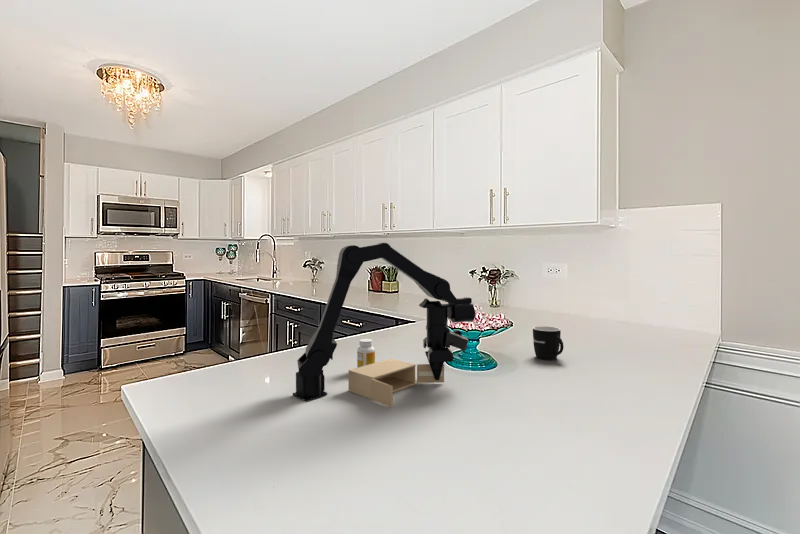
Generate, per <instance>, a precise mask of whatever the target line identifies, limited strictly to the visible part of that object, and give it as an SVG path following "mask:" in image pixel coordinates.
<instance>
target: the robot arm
mask: <svg viewBox="0 0 800 534" xmlns="http://www.w3.org/2000/svg"><path fill="white" fill-rule="evenodd" d="M337 258H338V259H337V263H336V264H337V265H336V273H335V274H336V275H335V279H334V282H333V285H332V288H331V291H330V294H329V296H328V300H327V301H326V305H325V308H324V311H323V314H322V316H321V319H320V323H319V325H318V327H317V329H316V331H315V332H314V333H313V335H312V336H311V338H310V340H309V342H308V344H307V345H306V347H305V351H304V353H303V354H302V355H301V356H300V357H299V358H298V359H297V360H296V361H297V362H296V363H297V368H298V371H296V372H295V392H292V396H293V397H296V398H298V399H300V400H302V401H306V402H309V401H312V400H315V399H318V398H322V397H324V396H327V395H328V392H327V391H325V387H326V386H325V383H326V381H325V374H324V369H323V368H324V367H325V366H327V365H328V364H329V361H330V360H333V359H334V358H333V356H334V352H335V350H336V348H337V347H338V343H337V341H336V340H335V338H333V337H334V332H335V330H336V326H337V324H338V320H339V317H340V314H341V313H342V312H341V311H342V309H343V305H344V304H345V300H346V298H347V294H348V292H349V289H350V287H351V283H352V282H353V280H354V278H355V277H356V276H357V274H358V273H359V270H360V269H361V268H362V266H363V263H364V262H365V263H366V262H370V261H371V262H372V261H374V260H379V259H381V260H383V261H384V262H386V263H387V264H389V265H390V266H392V267H393V268H395V269H396V270H397V271H399V272H401V273H402V274H403V275H405V277H407V278H409V279H410V280H412V281H413V282H414V283H415V284H416V285H417V287H418V288H419V289H420V290H421V291H422V292H423V293H425V295H426V296H428V297H429V298H432V299H435V300H429V299H428V298H426V297H425V298H424V299H423V301H421V302H420V303H419V304H418V307H420V308H423V309H426V325H425V330H426V336H425V337H424V338H423V340H422V347H423V348H424V349H426V348H427V350H426V351H424V354H425V355H426V359H427V361H428V362H427V363H428V364H430V367H431V370H432V372H433V375H434V378H435V380H439V379H440V375H441V371H442V367H443V364H445V363H452V362H454V353H453V351H451V349H450V348H451V347H453V348H457V349H459V350H461V351H463V352H465V351H466V349H467V346H468V343H469V341H470V340H469V339H468V337H466V336H464V335H463V333H462V331H461V330H458V329H455V330H454V331H451V330H450V329H449V327H448V320H450V321H451V322H452V323H471V322H473V321H475V318H476V310H475V306H474V303H473V302H472V301H473V300H472V299H473V298H471V297H467V296H466V297H462V298H460V297H459V298H457V297H456V296H455V295H454V293H453V291H452V290H451V285H450V282H449V281H448V280H446V279H445V278H442V277H440V276H438V275H436V274H433V273H431V272H428V271H426V270H424V269H423V268H421V267H420V266H419V265H418V264H416V263H415V262H413V261H412V260H410V259H409V258H407V257H406V256H404V255H403V254H402V253H400V252H399V251H398V250H396V249H395V248H394V247H392V246H391V244H389V243H387V242H380V243H376V244H371V245H366V246H361V247H360V246H358V245H354V244H353V245H351V244H350V245H346V246H343V247H342V248H341V249H340V251H339V253H338V257H337ZM441 301H442V302H445V303H441Z"/></svg>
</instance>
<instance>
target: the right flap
mask: <svg viewBox="0 0 800 534" xmlns="http://www.w3.org/2000/svg"><path fill="white" fill-rule="evenodd" d="M417 383H418V384H421V383H422V384H424V383H425V384H427V383H445V363H443V367H442V371H441V375H440V379H439V380H435V378H434V375H433V372H432V370H431V367H430V364H429V363H428V364H427V363H423V364H422V363H418V364H416V384H417Z"/></svg>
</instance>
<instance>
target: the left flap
mask: <svg viewBox="0 0 800 534" xmlns="http://www.w3.org/2000/svg"><path fill="white" fill-rule="evenodd" d="M393 393H394V392H393V386H391V385H389V384H386V383H383V382H380V381H378V380H375V379H371V398H370V400H371V401H375V402H377V403H380V404H382V405H384V406H387V407H389V408H393V407H394V405H393V403H394V402H393V401H394V399H393V397H394V394H393Z"/></svg>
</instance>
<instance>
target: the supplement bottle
mask: <svg viewBox="0 0 800 534" xmlns="http://www.w3.org/2000/svg"><path fill="white" fill-rule="evenodd" d="M358 344H359V346H358V347H357V350H356V355H357V356H356V357H357V358H356V360H357V365H356V368H358V367H362V366H366V365H369V364H373V363H376V349H375V347H374V346H373V339H370V338H362V339H359V343H358Z"/></svg>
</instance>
